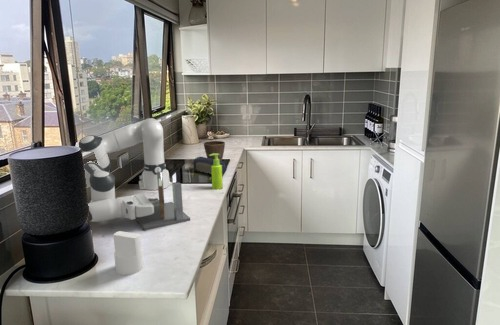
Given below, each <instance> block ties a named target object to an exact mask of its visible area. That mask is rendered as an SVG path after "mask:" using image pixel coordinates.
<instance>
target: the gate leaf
mask: <svg viewBox="0 0 500 325" xmlns="http://www.w3.org/2000/svg"><path fill="white" fill-rule="evenodd" d="M158 188H159V193H158V200H159V201H160V214H161V219H162V218H165V216H164V203H165V202H164V203H163V191H164V188H163V189H162V181H161V178H160V179H159V186H158Z"/></svg>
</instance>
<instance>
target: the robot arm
mask: <svg viewBox="0 0 500 325" xmlns="http://www.w3.org/2000/svg"><path fill="white" fill-rule="evenodd" d="M140 143H142V147H143V159H144V160H143V161H144V162H143V169H144V170H143V171H142V173H141V175H139V181H138V186H139V190H147V191H148V190H149V191H156V190H158V180H157V172H159V171H161V172H162V177H163V189H166V188H168V187H170V186H172V183H173V181H170V173H169V170H168V169H167V166H166V162H165V151H164V149H165V148H164V147H165V146H164V145H165V144H164V129H163V126H162V124H161V122H160V121H158V120H157V119H155V118H152V117H151V118H149V117H148V118H146V119H144V120H140V121H138V122H135V123H133V124H130V125H128V126H123V127H121V128H118V129H116V130H115V129H114V130H112V131H110V132H107V133H105V134H103V135H101V136H97V135H91V134H89V135H85V136H84V137H82V138H81V139H80V140H79V142H78V147H80V148H81V149H82V151H83V152H94V154H95V157H96V159H97V163H98V164H97V163H95V162H92V161H89V162H87V163H86V164H84V170H85V178H86V184H87V187H86V188H90V197H91V199H90V201H89V203H87V204H88V206H89V216H88V219H87V220H88V221H89V222H92V223H94V222H95V223H96V222H97V223H98V222H108V221H111V220H113V219H123V218H125V219H129V220H132V221H133V220H137V219H136V217H143V216H148V215H151V214H153V213H154V206H155V205H159V204H160V201H159V197H157V198H151V197H150V198H147V196H146V195H145V194H144V193H136V194H131V195H126V196H120V197H119V196H117V197H116V187H115V184H116V177H115V175H114V174H113V173H111V172H110V170H111V168H112V164H111V160H110V158H109V155H108V154H110V153H114V152H115V153H116V152H119V151H122V150H125V149H128V148H130V147H133V146H137V145H138V144H140Z"/></svg>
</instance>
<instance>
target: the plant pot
mask: <svg viewBox="0 0 500 325" xmlns="http://www.w3.org/2000/svg"><path fill="white" fill-rule="evenodd" d="M225 144H226V142H225V141H223V140H212V141H211V140H209V141H205V142H204V143H203V147H204V152H205V155H206V158H211V159H215V155H213V156H209V155H210V154H214V153H218V154H219V155H218V159H219V160H221V161H223V157H224V152H225V146H226V145H225Z"/></svg>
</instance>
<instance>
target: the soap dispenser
mask: <svg viewBox="0 0 500 325" xmlns="http://www.w3.org/2000/svg"><path fill="white" fill-rule="evenodd" d="M213 155H215V159H214V160H213V164H214V165H212V166H211V170H212V174H211V189H212V190H214V189H219V190H221V189H222V190H223V187H224V184H223V175H222V165H220V162H219V159H218V155H219V154H218V153H214V154H210V155H209V156H213Z"/></svg>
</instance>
